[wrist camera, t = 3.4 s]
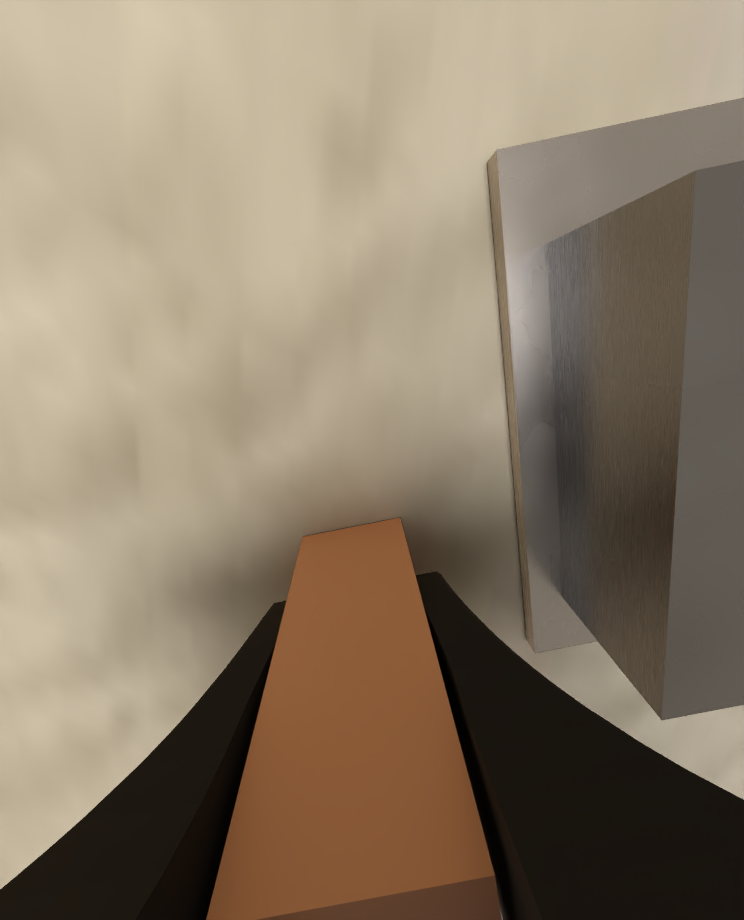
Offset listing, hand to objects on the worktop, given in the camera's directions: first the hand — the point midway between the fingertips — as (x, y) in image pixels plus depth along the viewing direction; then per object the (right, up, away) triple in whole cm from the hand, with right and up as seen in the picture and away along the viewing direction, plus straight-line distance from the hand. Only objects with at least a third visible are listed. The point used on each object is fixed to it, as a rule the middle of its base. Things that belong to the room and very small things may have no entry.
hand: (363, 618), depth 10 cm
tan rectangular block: (0, +1, +2) cm, 2 cm away
